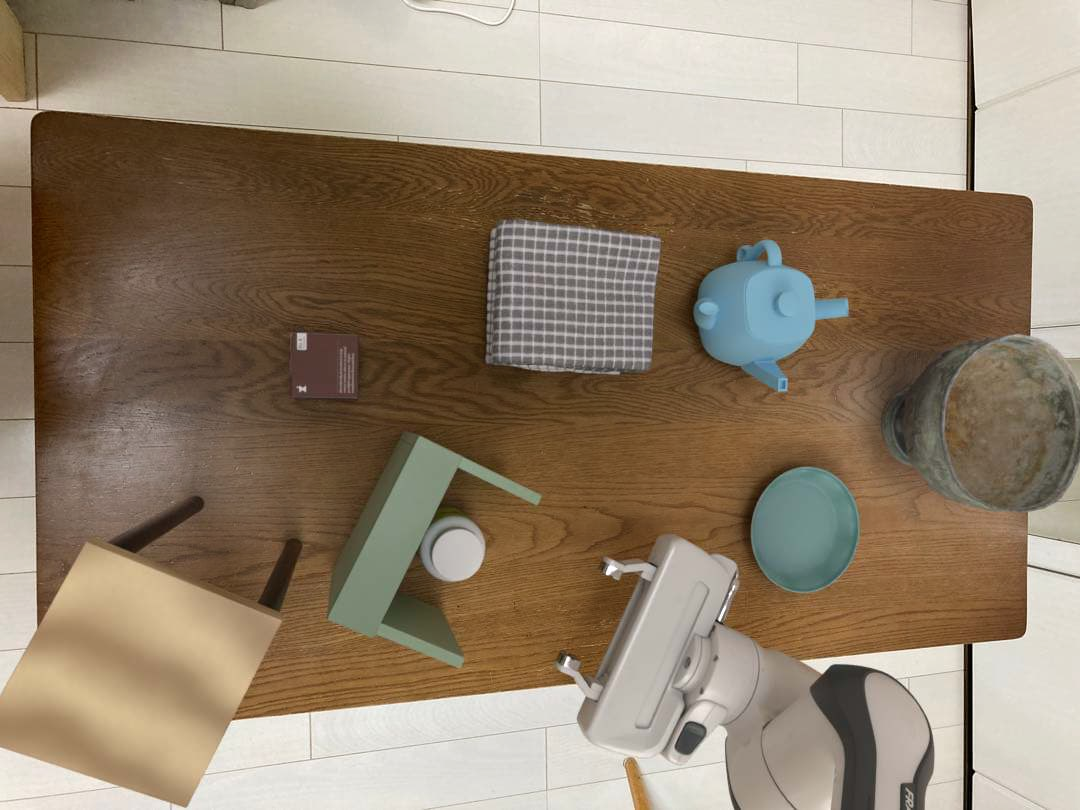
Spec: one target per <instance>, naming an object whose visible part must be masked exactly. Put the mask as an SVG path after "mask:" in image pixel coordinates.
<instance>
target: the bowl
mask: <svg viewBox="0 0 1080 810" xmlns="http://www.w3.org/2000/svg"><path fill="white" fill-rule="evenodd" d="M881 433H882V438H883V442H884V444H885V447H886V449H887V450H888V452H889V453H890V454H891V456H892V457H894V458H895V459H896V460H897V461H898V462H900V463H901V464H903V465H906V466H909V467H914V468H915V469H916V471H917V472H918V474H919V476H920V477H921V478H922V480H923V481H924V482H925V484H926V485H927V486H928V487H929V488H930V489H932V490H933V491H934V492H936V493H937V494H938V495H940V496H941V497H942V498H944V499H946V500H948V501H952V502H956V503H958V504H960V505H963V506H967V507H969V508H970V507H971V508H973V509H979V510H984V511H990V512H1005V513H1031V512H1035V511H1038V510H1044V509H1046V508H1048V507H1050V506H1052V505H1054V504H1056V503H1057V502H1058V501H1060V499H1062V498H1063V496H1064V495H1065V494H1066V493H1067V491H1068V489H1069V487H1070V486H1071V485H1072V482H1073V480H1074V478H1075V475H1076V473H1077V471H1078V468H1079V465H1080V383H1079V379H1078V377H1077V375H1076V373H1075V371H1074V369H1073V367H1072V366H1071V364H1070V363H1069V362H1068V360H1067V358H1065V357H1064V355H1063V354H1062V353H1061V352H1060V350H1059V349H1057V348H1055V347H1054V346H1053V345H1051V344H1050V343H1048V342H1047V341H1045V340H1043V339H1041V338H1039V337H1034V336H1031V335H1026V334H1021V333H1017V334H1008V335H1004V336H1000V337H994V338H992V337H987V338H985V339H974V338H973V339H970V340H967V341H965V342H962V343H960V344H958V345H956V346H953V347H951V348H948V349H945V350H943V352H941V353H939V354H938V355H937V356H936V357H935V358H934V359H933V360H932V361H931V362H930V363H928V364H927V365H926V366H925V368H924V369H923V370H922V372H921V373H920V374H919V376H918V377H916V380H915V381H914V382H913V384H912V385H911V386H908V387H905V388H903V389H901V390H899V391H898V392H896V393H895V394H894V395H893V396H892V397H891V398H890V400H889V401H888V403H887V405H886V407H885V410H884V411H883V414H882V418H881Z"/></svg>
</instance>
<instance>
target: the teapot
mask: <svg viewBox="0 0 1080 810" xmlns="http://www.w3.org/2000/svg"><path fill="white" fill-rule="evenodd" d="M764 251H765V252H766V255H767V260H760V259H759V257H760V256H761V255H762V253H764ZM782 255H783V254H782V251H781V248H780V246H779V244H778V243H777V242H776V241H774V240H772V239H763V240H760V241H758V242H756V243H755V244H754V245H753V246H751V245H747V244H746V245H745V244H744V245H742V246H740V247H739V248H738V249H737V252H736V261H735V262H731V263H728V264H725V265H722V266H719V267H717V268H715V269H713V270H712V271H710V272H708V273H707V274H706V276H704V278H703V279H702V281H701V282H700V284H699V287H698V293H697V301H696V302H695V304H694V306H693V319H694V322H695V324H696V325H697V327H698V333H699V337H700V341H701V343H702V346H703V348H704V350H705V351H706V353H707V354H709V356H710V357H712V358H714V359H715V360H717V361H719V362H722V363H725V364H728V365H732V366H736V367H741V370H742V371H744V372H745V373H747V374H748V375H750V376H752V377H753V378H755V379H756V380H757V381H759V382H761V383H763V384H764V385H766V386H767V387H769V388H771V389H772V390H774V391H776V392H788V380H789V378H788V377H786V375H785V374H784V373H783V371H782V369H781V368H780V367H779V365H778V364H777V361H779V360H782V359H784V358H786V357H788V356H790V355H791V354H794V353H795V352H797V350H799V349H801V347H802V346H803V345H805V343H806V342H807V341H808V339H809V338H810V337H811V336H812V334H813V333H814V331H815V327H816V321H820V320H829V319H839V318H847V317H849V313H850V312H849V310H850V309H849V299H848V298H847V297H837V298H823V299H816V298H815V297H816V296H815V290H814V286H813V283H812V280H811V278H810V277H809V276H808V275H807V274H805V273H804V272H802V271H801V270H798V269H796V268H794V267H791V266H788V265H785V264H783V259H782V258H783V257H782Z"/></svg>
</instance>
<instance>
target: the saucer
mask: <svg viewBox="0 0 1080 810" xmlns="http://www.w3.org/2000/svg"><path fill="white" fill-rule="evenodd" d="M860 529H861V521H860V514H859V508H858V506H857V503H856V500H855V497H854V496H853V494H852V493H851V491H850V489H849V488H848V486H847V485H846V484H845V483H844V482H843V480H842V479H840V478H839V477H838V476H836V475H835V474H834V473H832V472H830V471H829V470H827V469H823V468H820V467H815V466H799V467H794V468H791V469H789V470H787V471H784V472H782V473H781V474H780V475H779V476H777V477H776V478H775V479H773V480H772V481H771V482H770V483H769V484H768V485H767V486H766V488H765V489H764V490H763V492H762V493H761V494H760V496H759V498H758V500H757V502H756V503H755V506H754V508H753V513H752V516H751V522H750V540H751V541H750V542H751V548H752V553H753V556H754V558H755V561H756V563H757V565H758V567H759V569H760V570H761V571H762V573H763V574H764V576H766V578H767V579H768V580H769V581H770V582H771V583H772V584H774V585H775V586H777V587H779V588H781V589H783V590H785V591H788V592H791V593H795V594H809V593H816V592H818V591H819V592H820V591H821V590H823V589H825V588H828V587H829V586H831V585H832V584H833V583H835V582H836V581H837V580H839V578H841V577H842V575H843V574H844V573H845V572H846V571H847V570H848V568H849V566H850V564H851V563H852V562H853V559H854V557H855V555H856V552H857V548H858V545H859V541H860V533H861V530H860Z"/></svg>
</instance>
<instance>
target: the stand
mask: <svg viewBox="0 0 1080 810" xmlns="http://www.w3.org/2000/svg"><path fill="white" fill-rule="evenodd" d="M284 617H285V613H283V612H282V611H280V612H278V611H276V610H273V609H271V608H268V607H266V606H263V605H261V604H258V602H255V601H253V600H251V599H248V598H245V597H243V596H241V595H238V594H237V593H233V592H232V591H228V590H226V589H223V588H222V587H219V586H216V585H213V584H211V583H209V582H206V581H203V580H201V579H198V578H196V577H193V576H191V575H189V574H186V573H184V572H181V571H180V570H177V569H174V568H173V567H172V568H171V567H169V566H168V565H167V566H166V565H164V564H163V563H159V562H157V561H155V560H151V559H149V558H147V557H144V556H142V555H139V554H137V553H136V554H134V553H132V552H130V551H127V550H125V549H122V548H120V547H117V546H115V545H112V544H110V543H107V541H106V540H102V539H99V538H98V537H93V538H91V539H89V540H87V541H85V543H84V545H83V546H82V547H81V550H80V551H79V553H78V555H77V557H76V558H75V560H74V562H73V564H72V566H71V567H70V569H69V571H68V572H67V574H66V577H65V578H64V580H63V582H62V584H61V585H60V587H59V589H58V591H57V592H56V594H55V596H54V597H53V600H52V602H51V603H50V605H49V607H48V609H47V610H46V612H45V614H44V616H43V617H42V619H41V622H40V623H39V625H38V626H37V629H36V630H35V632H34V634H33V636H32V637H31V639H30V641H29V643H28V645H27V646H26V648H25V650H24V652H23V654H22V655H21V656H20V659H19V661H18V662H17V664H16V666H15V667H14V669H13V671H12V673H11V675H10V676H9V678H8V680H7V682H6V684H5V686H4V687H3V689H2V691H1V693H0V748H1V749H4V750H7V751H10V752H13V753H16V754H19V755H23V756H25V757H28V758H30V759H31V758H32V759H35V760H38V761H40V762H43V763H48V764H50V765H53V766H56V767H60V768H62V769H66V770H69V771H71V772H74V773H78V774H81V775H84V776H86V777H90V778H93V779H96V780H99V781H102V782H105V783H108V784H111V785H114V786H117V787H121V788H123V789H127V790H129V791H132V792H136V793H139V794H143V795H145V796H147V797H150V798H153V799H156V800H160V801H163V802H166V803H170V804H171V805H175V806H178V807H181V808H185V809H186V808H188V807H189V805H190V802H191V801H192V799H193V797H194V795H195V793H196V791H197V789H198V787H199V785H200V783H201V781H202V779H203V777H204V775H205V773H206V771H207V770H208V767H209V765H210V764H211V761H212V760H213V757H214V756H215V754H216V752H217V749H218V748H219V746H220V744H221V742H222V740H223V738H224V736H225V734H226V732H227V730H228V728H229V726H230V724H231V722H233V719H234V717H235V715H236V714H237V711H238V709H239V707H240V705H241V703H242V701H243V700H244V698H245V695H246V694H247V691H248V689H249V688H250V685H251V684H252V683H253V680H254V678H255V675H256V673H257V672H258V670H259V668H260V666H261V664H262V662H263V660H264V658H265V657H266V655H267V653H268V650H269V648H270V647H271V645H272V643H273V641H274V639H275V637H276V635H277V632H278V631H279V629H280V627H281V625H282V623H283V620H284Z"/></svg>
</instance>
